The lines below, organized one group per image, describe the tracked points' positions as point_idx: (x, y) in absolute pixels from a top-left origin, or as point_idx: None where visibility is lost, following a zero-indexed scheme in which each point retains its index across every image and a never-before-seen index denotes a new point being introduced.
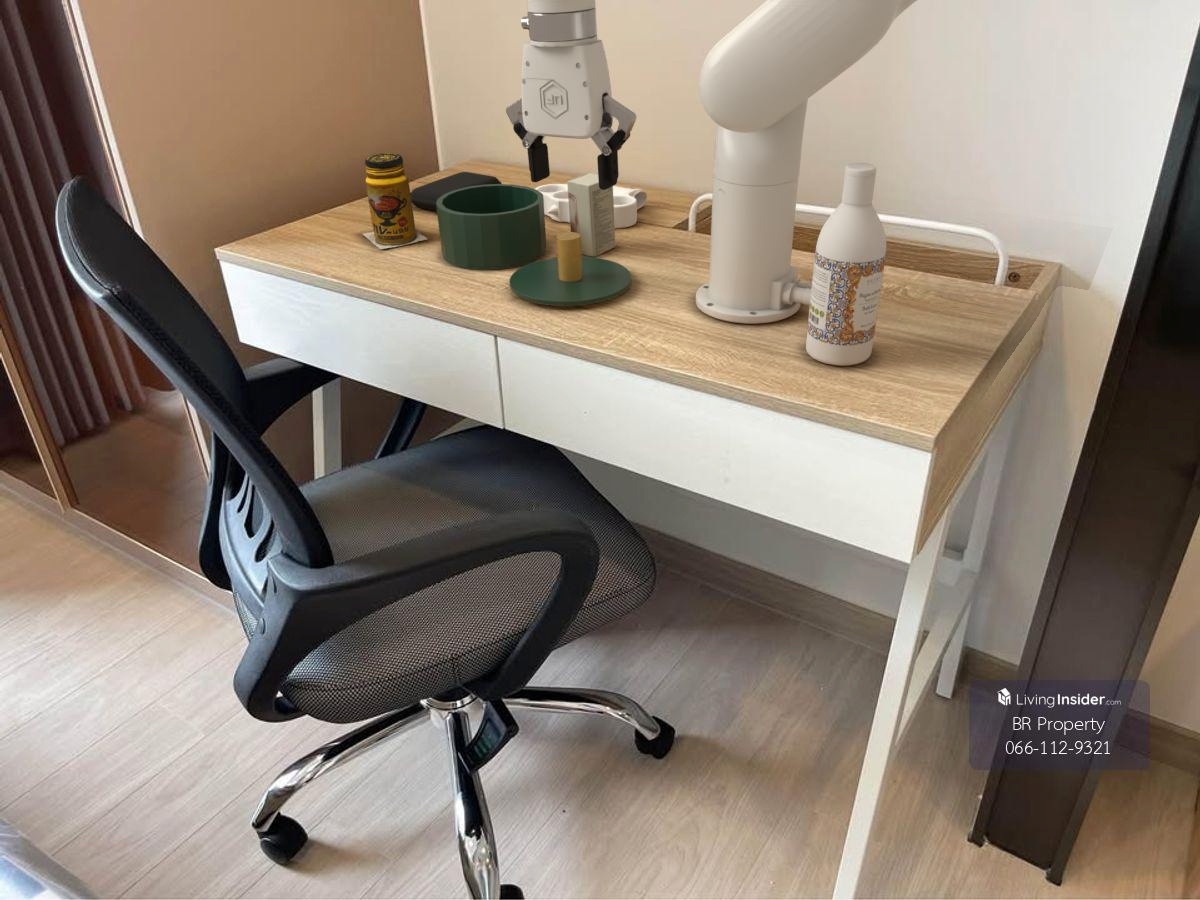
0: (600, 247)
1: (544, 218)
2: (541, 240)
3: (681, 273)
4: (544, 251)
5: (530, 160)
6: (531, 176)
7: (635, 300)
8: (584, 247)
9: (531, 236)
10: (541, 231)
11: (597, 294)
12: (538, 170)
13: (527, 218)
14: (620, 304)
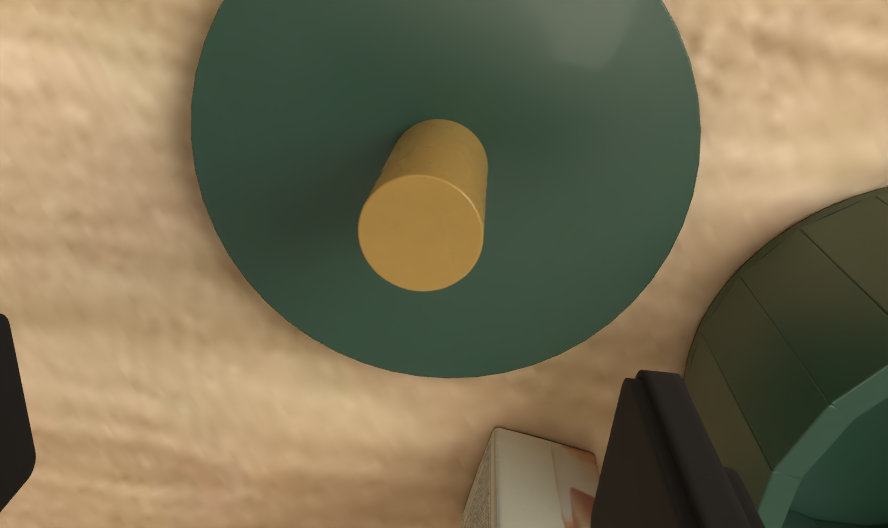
0: (482, 472)
1: None
2: None
3: (154, 387)
4: None
5: (720, 494)
6: (681, 394)
7: (153, 119)
8: (534, 453)
9: (726, 387)
10: None
11: (245, 38)
12: (633, 460)
13: (763, 429)
14: (179, 62)
